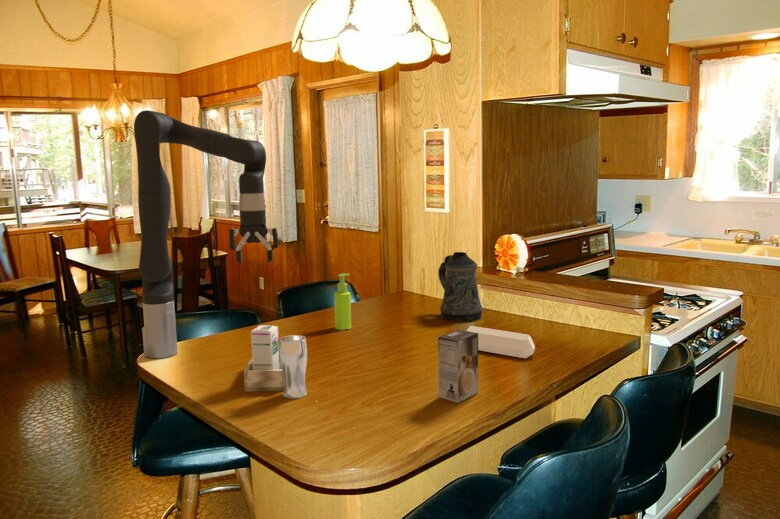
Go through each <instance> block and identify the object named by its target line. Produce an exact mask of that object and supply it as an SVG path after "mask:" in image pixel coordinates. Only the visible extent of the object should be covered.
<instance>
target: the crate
mask: <svg viewBox="0 0 780 519" xmlns="http://www.w3.org/2000/svg"><path fill="white" fill-rule="evenodd" d="M279 355H280V347H279ZM243 385H244V386H243V387H244V392H245V393H247V392H248V393H249V392H279V391H282V392H283V391H284V377H283V372H282V368H281V363H280V369H276V370H253V359H252V357H251V358H250V360H249V361H248V363H247V365H246V367H245V369H244V370H243Z"/></svg>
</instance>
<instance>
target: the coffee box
mask: <svg viewBox="0 0 780 519" xmlns="http://www.w3.org/2000/svg"><path fill="white" fill-rule="evenodd" d="M437 342H438V343H437V344H438V345H437V347H438V350H437V351H438V354H437V356H438V398H440V399H443V400H447V401H450V402H453V403H457V404H459V403H461V402H464V401H465V400H466V399H468V398H470V397H473V396H474V395H476V394H478V393H479V350H478V333H475V332H469V331H466V330H463V329H456V330H454V331H451V332H448V333H446V334H443V335H440V336H438V340H437Z"/></svg>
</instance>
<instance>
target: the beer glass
mask: <svg viewBox="0 0 780 519" xmlns="http://www.w3.org/2000/svg"><path fill="white" fill-rule="evenodd" d="M307 346H308V345H307V338H306V336H304V335H300V334H291V335H285V336H281V337H280V339H279V348H280V363H281V368H282V372H283V377H284V391H282V396H283V397H284V398H286V399H293V400H294V399H295V400H296V399H302V398H304V397H306V396H307V394H308V393H307V387H306V386H307V385H306V381H305V380H306V370H307V364H308V347H307Z"/></svg>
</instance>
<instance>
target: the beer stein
mask: <svg viewBox="0 0 780 519" xmlns="http://www.w3.org/2000/svg"><path fill="white" fill-rule="evenodd" d="M477 269H478V264H477V263H476V261H475V260H473V259H472V258H470V257H469V256H468V254H467V252H465V251H464V252H463V251H457V252H456V251H455V252H454V253H453V254H451V255H446V256H445V258H444V261H442V262H441V263H440V266H439V267H438V270H437V271H438V273H437V274H438V278H439V282H440V285H441V286H442V288H443V290H444V291H443V298H442V301H441V305H440V308H439V311H440V315H441V318H442V317H443V318H445V319H444V320H446V319H448V320H447V321H450V320H453V321H452V322H457V321H468V322H474V321H473V320H476V321H478V320H477V319H479V320H481V319H482V315H483V311H484V310H483V309H484V308H483V306H482V303H481V301H480V296H479V290H478V289H479V288H478V282H477V275H476V271H477ZM443 318H442V319H443Z"/></svg>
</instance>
